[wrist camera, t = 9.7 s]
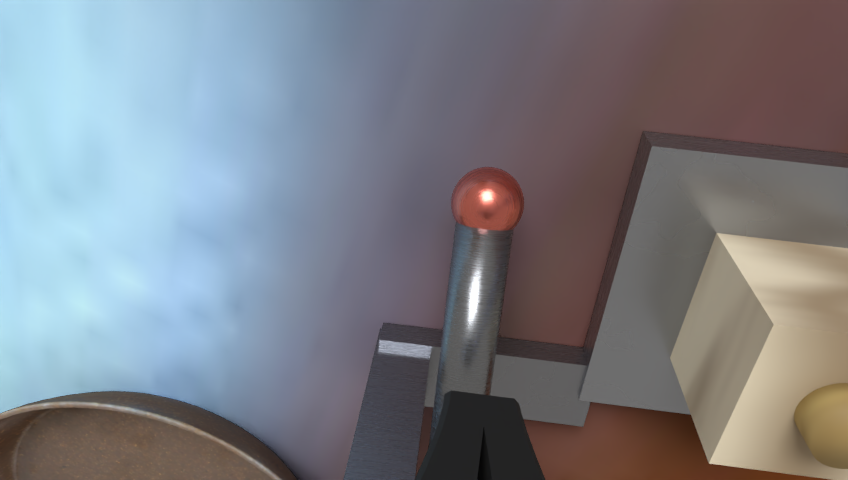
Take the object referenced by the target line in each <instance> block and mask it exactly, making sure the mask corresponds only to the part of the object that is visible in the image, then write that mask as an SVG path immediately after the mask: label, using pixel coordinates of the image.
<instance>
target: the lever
mask: <svg viewBox="0 0 848 480" xmlns="http://www.w3.org/2000/svg"><path fill="white" fill-rule="evenodd" d="M451 208H452V213H453V216H454V218H455V220H456V225H455V234H454V242H453V250H452V259H451V267H450V275H449V283H448V292H447V300H446V308H445V316H444V325H443V333H442V341H441V350H440V358H439V366H438V374H437V383H436V391H435V399H434V408H433V416H432V424H431V432H430V441H429V446H428V449H429V447H430V444H431V441H432V439H433V436H434V433H435V431H436V428H437V425H438V422H439V418H440V415H441V411H442V407H443V401H444V394H445V393H447V392H449V391H451V390H452V391H460V392H468V393H475V394H483V395H490V393H491V386H492V379H493V372H494V364H495V357H496V350H497V343H498V336H499V328H500V321H501V314H502V307H503V300H504V292H505V285H506V278H507V271H508V264H509V256H510V249H511V242H512V235H513V229H514V227H515V226H516V225H517V224H518V222H519V220H520V218H521V216H522V213H523V209H524V197H523V193H522V190H521V188H520V186H519V184H518V182H517V181H516V180H515V179H514V178H513V177H512V176H511V175H510V174H509V173H507V172H506V171H503V170H501V169H498V168H494V167H482V168H477V169H474V170H472V171H470V172H468V173H467V174H466V175H464V176H463V177H462V178H461V179H460V180H459V182H458V183H457V185H456V186H455V188H454V191H453V194H452V199H451Z"/></svg>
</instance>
